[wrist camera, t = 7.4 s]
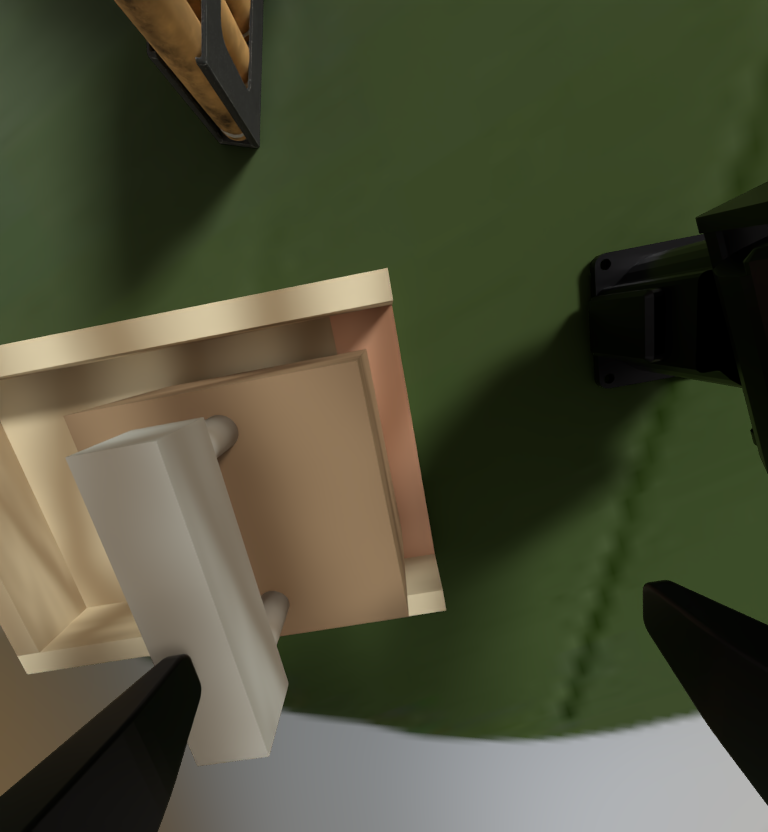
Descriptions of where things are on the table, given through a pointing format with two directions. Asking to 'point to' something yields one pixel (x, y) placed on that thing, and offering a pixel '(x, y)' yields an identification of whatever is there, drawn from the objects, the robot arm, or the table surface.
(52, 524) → the bay
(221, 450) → the panel with bar handle
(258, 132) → the ammunition clip
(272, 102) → the table surface
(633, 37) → the table surface
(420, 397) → the table surface
